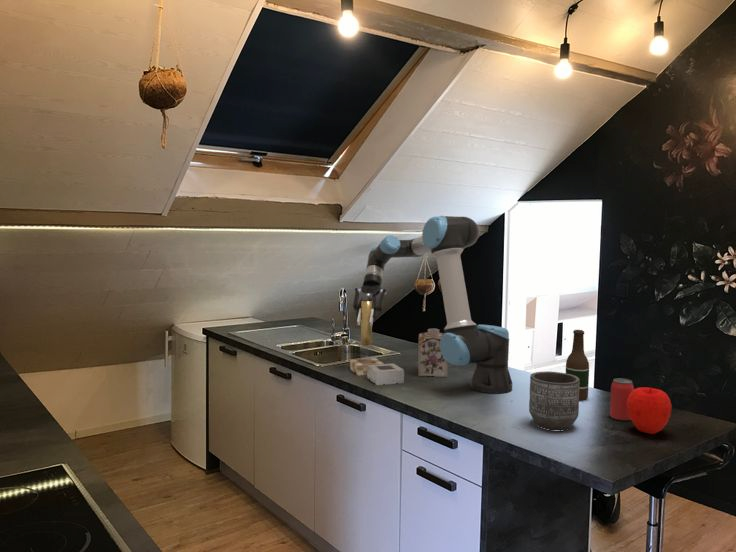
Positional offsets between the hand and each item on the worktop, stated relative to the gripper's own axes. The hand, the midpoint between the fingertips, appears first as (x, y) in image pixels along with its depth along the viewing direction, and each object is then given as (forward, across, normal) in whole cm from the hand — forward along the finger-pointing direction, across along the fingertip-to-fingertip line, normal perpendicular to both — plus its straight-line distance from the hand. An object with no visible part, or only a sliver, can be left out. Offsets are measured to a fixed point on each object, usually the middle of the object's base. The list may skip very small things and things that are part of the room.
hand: (364, 323), depth 238 cm
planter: (+48, -69, +20) cm, 86 cm away
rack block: (+12, 0, -17) cm, 21 cm away
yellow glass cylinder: (+4, 0, -9) cm, 10 cm away
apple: (+48, -95, +20) cm, 108 cm away
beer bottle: (+26, -79, -3) cm, 83 cm away
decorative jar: (+10, -27, -19) cm, 34 cm away
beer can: (+39, -90, +11) cm, 99 cm away
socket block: (+21, -10, -8) cm, 24 cm away
